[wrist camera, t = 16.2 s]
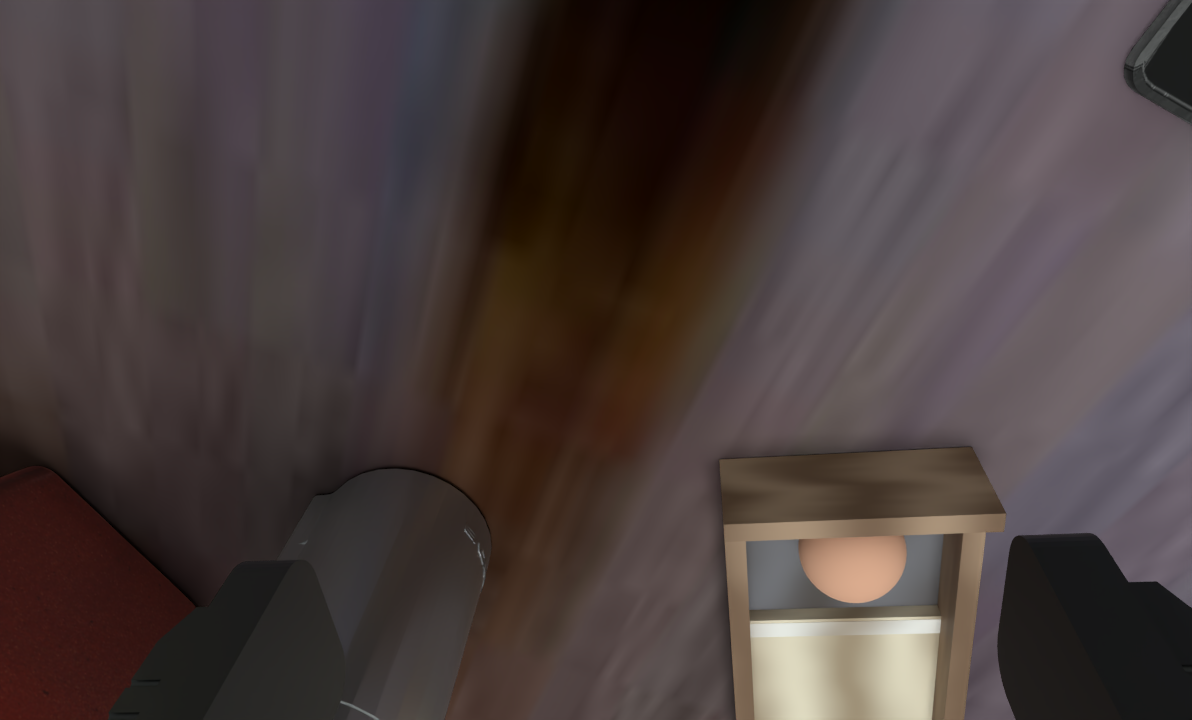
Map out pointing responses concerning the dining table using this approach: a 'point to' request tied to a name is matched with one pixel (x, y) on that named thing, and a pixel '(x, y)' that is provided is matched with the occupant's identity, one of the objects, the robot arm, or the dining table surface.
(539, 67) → the dining table surface
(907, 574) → the track
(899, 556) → the ball
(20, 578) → the plant pot
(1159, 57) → the phone
